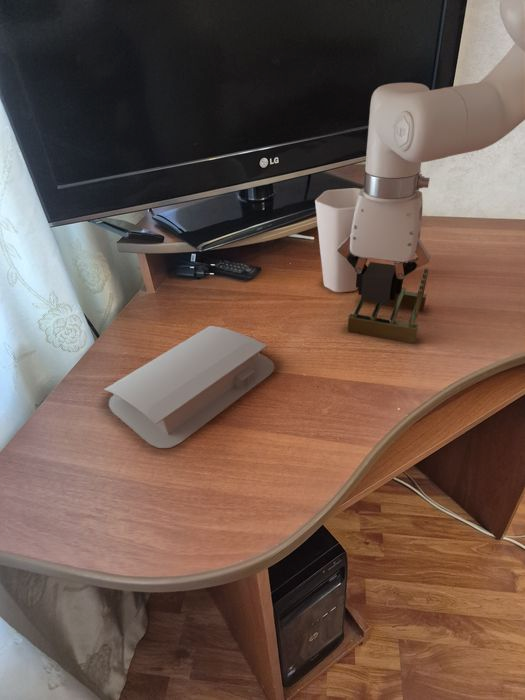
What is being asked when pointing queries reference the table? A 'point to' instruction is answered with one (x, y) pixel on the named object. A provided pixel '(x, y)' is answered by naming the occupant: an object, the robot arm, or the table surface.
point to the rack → (391, 327)
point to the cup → (336, 237)
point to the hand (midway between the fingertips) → (377, 292)
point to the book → (189, 385)
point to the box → (378, 282)
